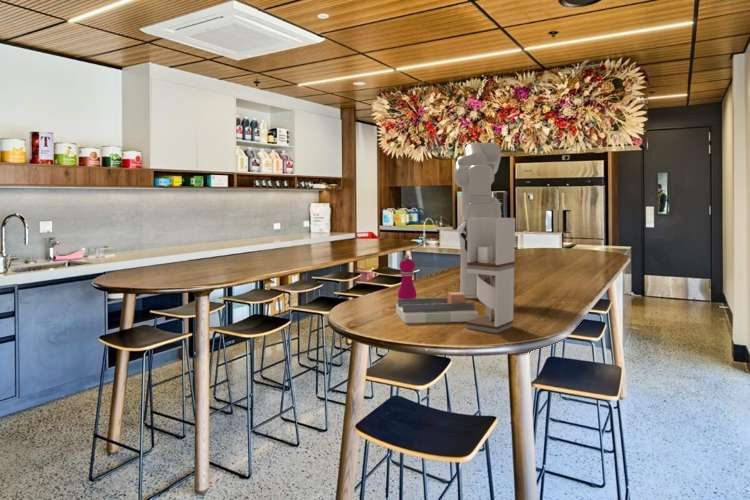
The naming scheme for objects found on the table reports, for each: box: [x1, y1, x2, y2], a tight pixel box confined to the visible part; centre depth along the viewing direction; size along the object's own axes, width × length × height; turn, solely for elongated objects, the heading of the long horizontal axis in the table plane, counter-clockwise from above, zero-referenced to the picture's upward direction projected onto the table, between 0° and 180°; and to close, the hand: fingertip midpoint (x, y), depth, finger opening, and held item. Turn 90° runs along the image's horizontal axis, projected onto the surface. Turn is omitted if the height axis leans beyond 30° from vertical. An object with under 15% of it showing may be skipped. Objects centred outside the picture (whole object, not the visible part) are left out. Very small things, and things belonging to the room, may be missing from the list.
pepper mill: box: [397, 254, 417, 299], centre depth 204 cm, size 7×7×20 cm
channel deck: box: [395, 303, 479, 324], centre depth 186 cm, size 25×18×3 cm
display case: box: [465, 217, 516, 334], centre depth 169 cm, size 11×11×35 cm
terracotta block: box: [447, 291, 465, 303], centre depth 187 cm, size 5×5×5 cm
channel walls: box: [397, 297, 476, 312], centre depth 186 cm, size 25×11×2 cm, turn 97°
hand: (478, 251), depth 186 cm, fingers open, 7 cm apart
